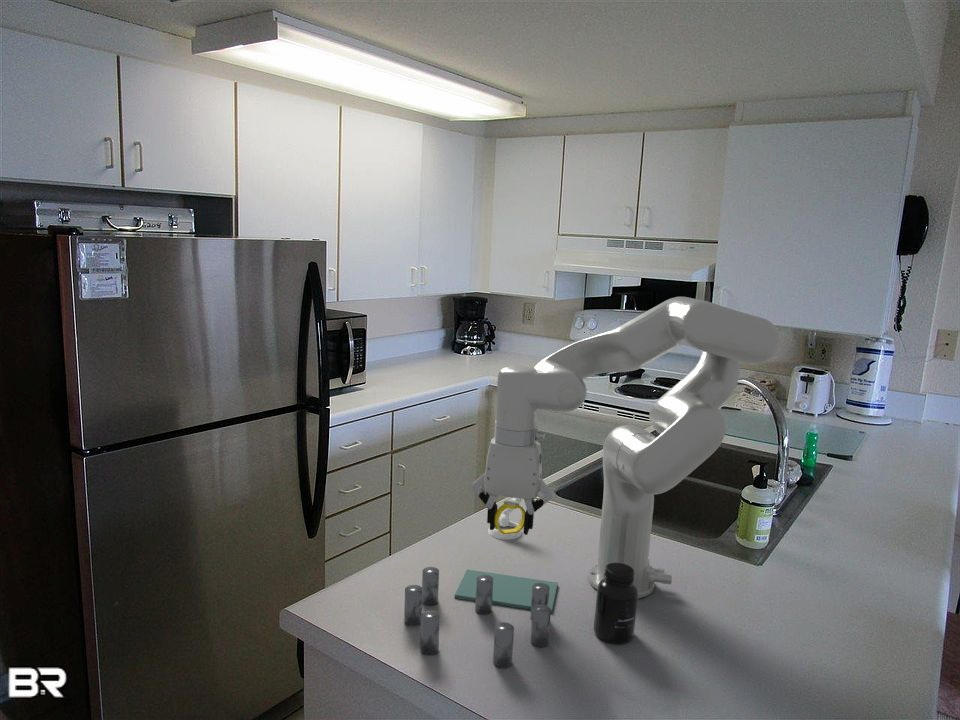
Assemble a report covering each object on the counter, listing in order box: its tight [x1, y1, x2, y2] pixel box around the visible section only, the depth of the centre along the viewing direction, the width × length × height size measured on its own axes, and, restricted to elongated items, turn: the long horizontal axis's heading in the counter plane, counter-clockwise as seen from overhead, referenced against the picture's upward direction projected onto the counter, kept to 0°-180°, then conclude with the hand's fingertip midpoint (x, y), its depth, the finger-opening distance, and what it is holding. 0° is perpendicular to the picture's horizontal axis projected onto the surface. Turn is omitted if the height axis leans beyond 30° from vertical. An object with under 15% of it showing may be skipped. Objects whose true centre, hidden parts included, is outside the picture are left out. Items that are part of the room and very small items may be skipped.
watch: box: [494, 499, 526, 534], centre depth 126 cm, size 6×3×6 cm, turn 111°
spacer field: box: [403, 566, 552, 669], centre depth 115 cm, size 25×17×6 cm
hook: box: [487, 497, 524, 541], centre depth 153 cm, size 8×12×7 cm
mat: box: [454, 568, 559, 614], centre depth 129 cm, size 18×10×1 cm, turn 78°
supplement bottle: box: [593, 563, 639, 645], centre depth 116 cm, size 7×7×12 cm
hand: (509, 528), depth 126 cm, fingers closed on watch, 5 cm apart
